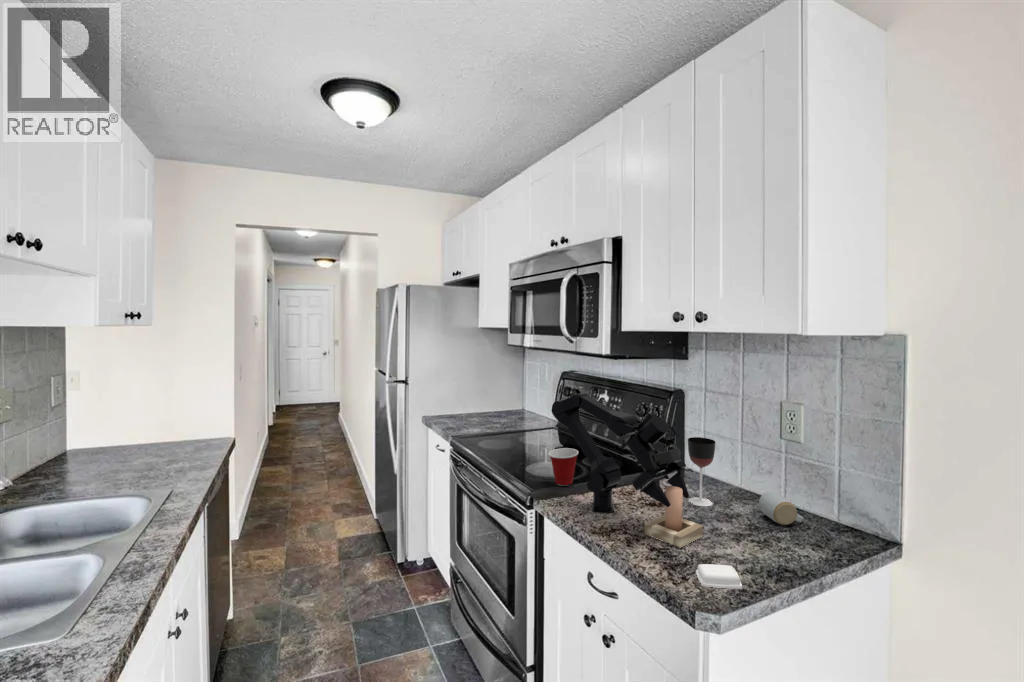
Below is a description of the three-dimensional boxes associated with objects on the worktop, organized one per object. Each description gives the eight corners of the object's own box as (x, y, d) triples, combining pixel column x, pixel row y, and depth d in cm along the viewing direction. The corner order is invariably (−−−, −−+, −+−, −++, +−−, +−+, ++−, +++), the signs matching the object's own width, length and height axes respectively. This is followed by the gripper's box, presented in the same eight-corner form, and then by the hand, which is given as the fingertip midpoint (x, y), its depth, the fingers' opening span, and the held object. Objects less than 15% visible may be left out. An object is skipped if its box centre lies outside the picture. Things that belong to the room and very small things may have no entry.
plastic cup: (543, 481, 177) (543, 448, 177) (570, 478, 180) (570, 446, 180) (555, 491, 167) (555, 456, 166) (583, 487, 170) (583, 454, 170)
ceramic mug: (774, 527, 137) (775, 500, 137) (757, 515, 146) (758, 490, 145) (810, 526, 138) (811, 500, 138) (791, 515, 146) (793, 490, 146)
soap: (734, 574, 113) (734, 562, 113) (744, 591, 106) (744, 578, 106) (694, 572, 114) (694, 560, 114) (701, 588, 107) (701, 576, 107)
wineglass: (698, 508, 151) (699, 444, 150) (681, 498, 160) (682, 438, 159) (720, 505, 153) (721, 442, 152) (702, 495, 162) (703, 436, 161)
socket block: (644, 534, 133) (644, 523, 133) (667, 523, 140) (667, 513, 140) (680, 548, 125) (681, 537, 125) (703, 536, 132) (703, 525, 132)
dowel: (663, 530, 135) (664, 485, 134) (679, 530, 134) (680, 486, 134) (666, 537, 130) (667, 491, 130) (683, 537, 130) (684, 492, 129)
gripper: (641, 442, 128) (679, 495, 120) (680, 431, 140) (716, 478, 132) (617, 465, 135) (651, 516, 127) (656, 453, 147) (690, 499, 139)
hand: (678, 501), depth 131 cm, fingers open, 9 cm apart
